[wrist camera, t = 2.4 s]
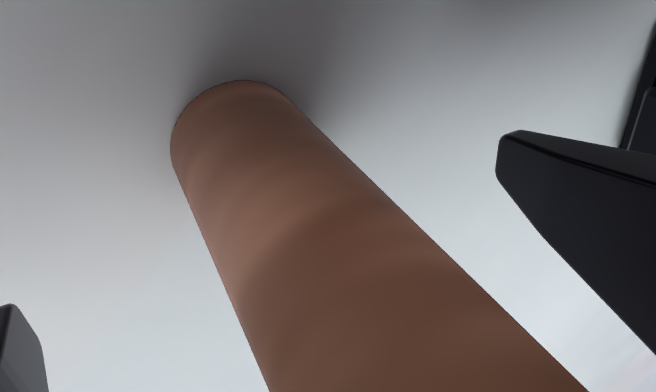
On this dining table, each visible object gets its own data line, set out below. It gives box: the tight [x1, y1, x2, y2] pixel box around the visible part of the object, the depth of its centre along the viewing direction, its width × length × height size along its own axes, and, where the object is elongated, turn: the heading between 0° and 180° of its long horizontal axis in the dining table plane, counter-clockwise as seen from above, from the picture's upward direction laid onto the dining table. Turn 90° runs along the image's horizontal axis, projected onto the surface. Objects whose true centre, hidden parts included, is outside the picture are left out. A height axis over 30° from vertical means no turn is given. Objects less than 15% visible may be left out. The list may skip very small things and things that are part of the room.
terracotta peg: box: [170, 80, 589, 392], centre depth 8 cm, size 3×3×10 cm
